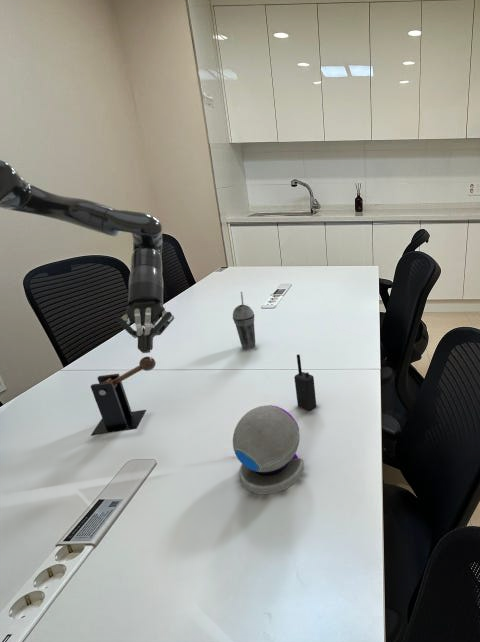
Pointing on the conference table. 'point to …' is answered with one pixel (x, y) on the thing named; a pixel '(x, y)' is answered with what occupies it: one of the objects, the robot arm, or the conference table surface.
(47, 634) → the conference table surface
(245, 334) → the beverage cup
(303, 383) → the walkie-talkie
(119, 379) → the lever
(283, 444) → the webcam
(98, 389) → the bracket
